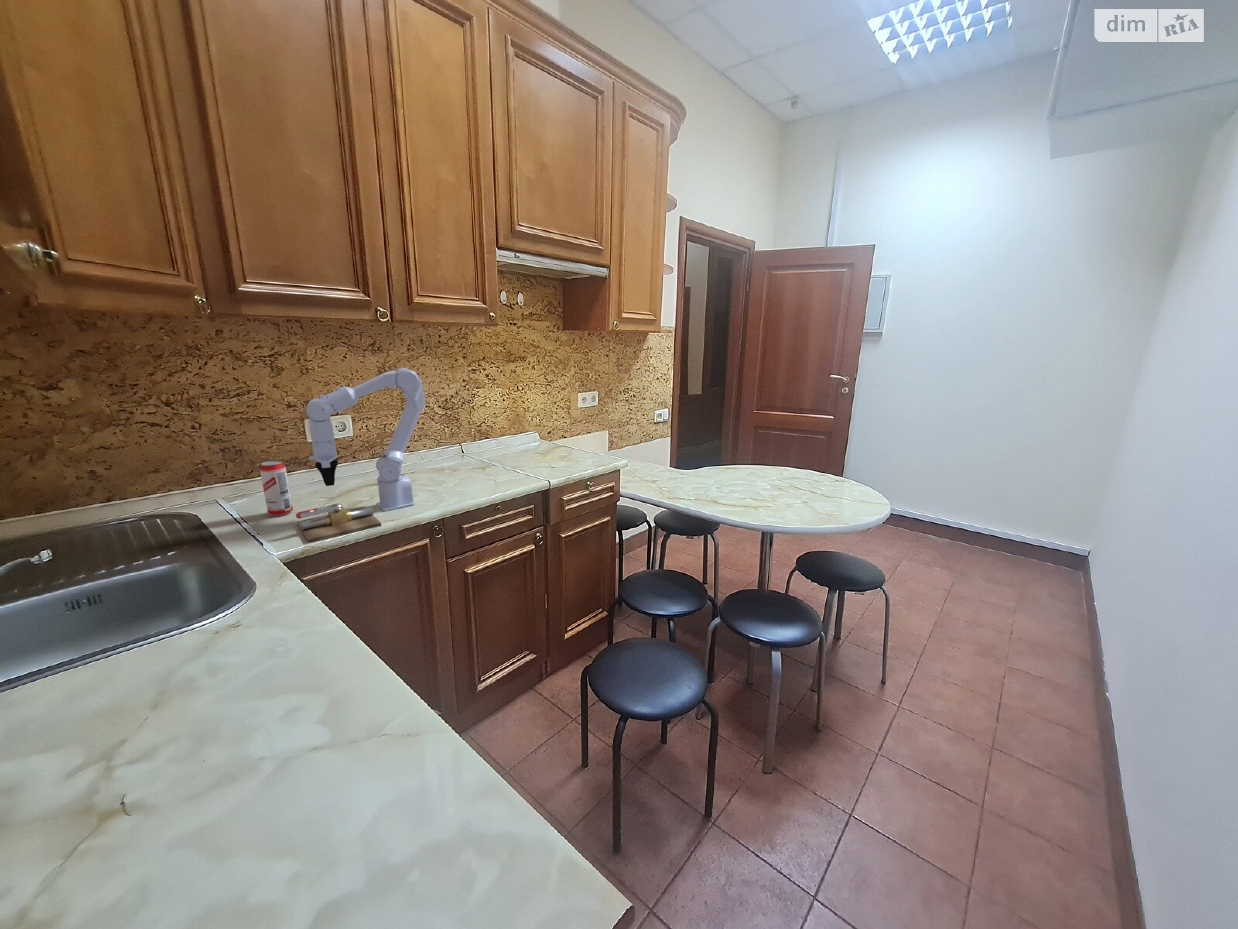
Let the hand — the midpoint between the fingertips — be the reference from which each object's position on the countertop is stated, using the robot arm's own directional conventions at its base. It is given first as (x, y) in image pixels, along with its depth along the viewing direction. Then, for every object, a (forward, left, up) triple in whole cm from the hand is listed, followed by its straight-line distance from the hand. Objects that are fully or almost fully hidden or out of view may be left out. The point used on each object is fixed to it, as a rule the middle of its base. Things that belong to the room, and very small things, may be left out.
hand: (330, 485), depth 142 cm
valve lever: (+5, +10, -5) cm, 13 cm away
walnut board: (+1, +10, -9) cm, 14 cm away
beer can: (+12, -11, -10) cm, 19 cm away
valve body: (+1, +10, -9) cm, 14 cm away
